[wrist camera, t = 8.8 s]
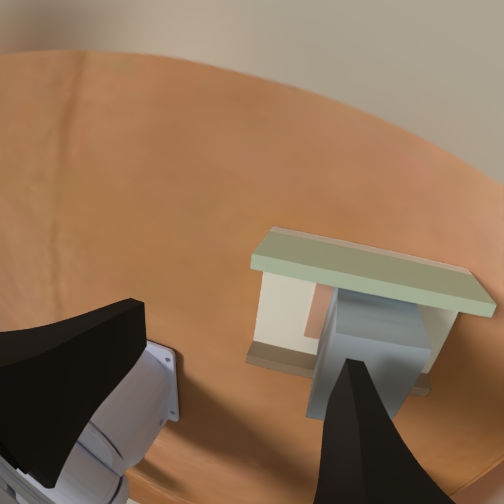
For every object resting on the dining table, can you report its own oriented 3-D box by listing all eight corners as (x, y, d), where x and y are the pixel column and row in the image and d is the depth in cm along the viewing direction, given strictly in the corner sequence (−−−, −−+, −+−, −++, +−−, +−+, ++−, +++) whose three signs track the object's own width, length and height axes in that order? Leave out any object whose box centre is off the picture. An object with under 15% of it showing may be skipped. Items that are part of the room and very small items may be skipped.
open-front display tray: (421, 372, 18) (431, 419, 14) (256, 339, 20) (235, 384, 16) (467, 268, 15) (496, 305, 11) (273, 226, 17) (252, 253, 13)
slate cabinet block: (380, 354, 17) (385, 429, 12) (318, 342, 18) (305, 417, 12) (407, 283, 15) (432, 349, 10) (338, 268, 16) (335, 332, 11)
